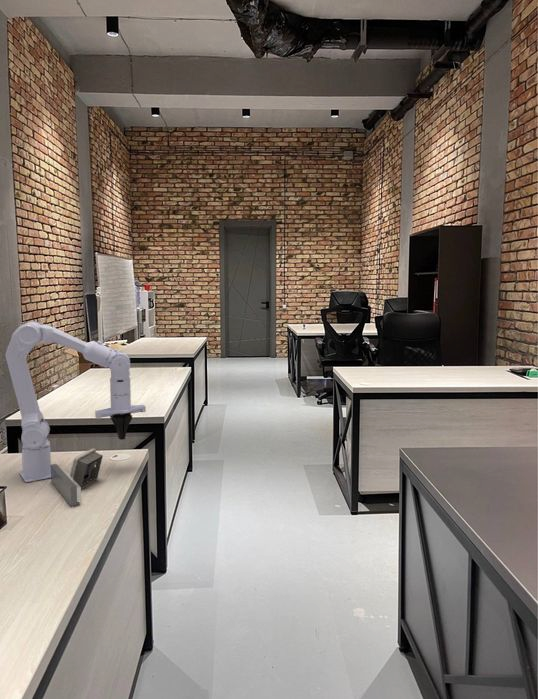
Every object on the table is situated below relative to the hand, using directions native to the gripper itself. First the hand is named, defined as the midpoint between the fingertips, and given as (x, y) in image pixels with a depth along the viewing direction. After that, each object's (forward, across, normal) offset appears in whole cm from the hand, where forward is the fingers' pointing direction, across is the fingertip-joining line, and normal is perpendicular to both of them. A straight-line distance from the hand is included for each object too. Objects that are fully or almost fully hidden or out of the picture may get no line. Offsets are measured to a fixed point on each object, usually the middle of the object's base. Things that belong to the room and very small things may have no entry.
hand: (121, 438), depth 158 cm
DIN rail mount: (+9, -19, -9) cm, 23 cm away
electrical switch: (+10, -12, -6) cm, 17 cm away
